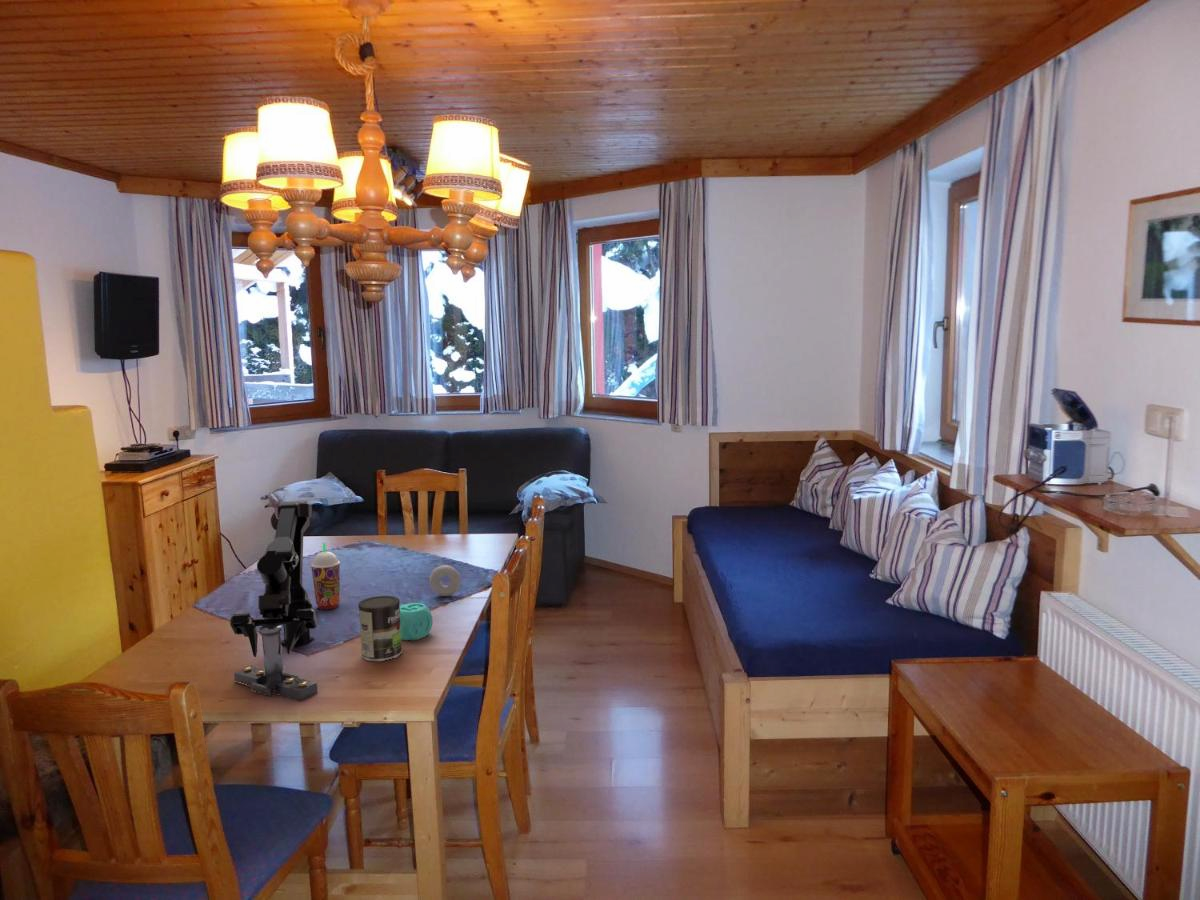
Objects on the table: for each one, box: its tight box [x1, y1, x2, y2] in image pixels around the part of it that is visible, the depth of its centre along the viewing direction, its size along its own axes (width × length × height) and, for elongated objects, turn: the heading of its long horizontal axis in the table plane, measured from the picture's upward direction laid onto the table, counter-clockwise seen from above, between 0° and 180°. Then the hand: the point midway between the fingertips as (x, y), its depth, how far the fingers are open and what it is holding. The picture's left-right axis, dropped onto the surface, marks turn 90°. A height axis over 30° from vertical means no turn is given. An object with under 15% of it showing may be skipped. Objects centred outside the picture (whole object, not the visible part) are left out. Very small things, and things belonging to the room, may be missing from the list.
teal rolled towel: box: [400, 602, 434, 641], centre depth 231 cm, size 8×8×8 cm
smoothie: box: [310, 542, 341, 610], centre depth 256 cm, size 8×8×20 cm
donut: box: [429, 564, 462, 597], centre depth 264 cm, size 10×4×10 cm, turn 83°
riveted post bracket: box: [233, 664, 318, 702], centre depth 199 cm, size 22×8×3 cm, turn 61°
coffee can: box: [358, 595, 403, 662], centre depth 217 cm, size 10×10×14 cm
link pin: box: [259, 624, 284, 692], centre depth 198 cm, size 5×5×15 cm
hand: (271, 654), depth 196 cm, fingers open, 7 cm apart
